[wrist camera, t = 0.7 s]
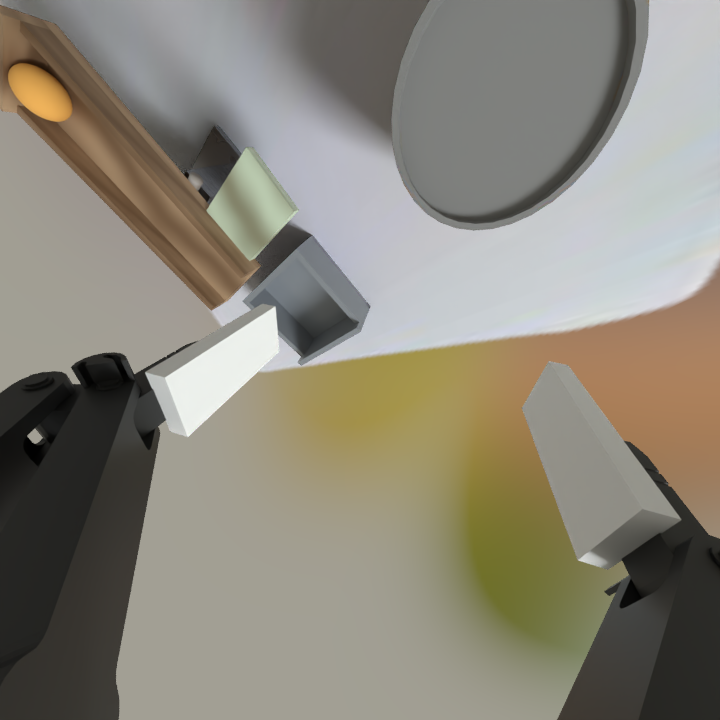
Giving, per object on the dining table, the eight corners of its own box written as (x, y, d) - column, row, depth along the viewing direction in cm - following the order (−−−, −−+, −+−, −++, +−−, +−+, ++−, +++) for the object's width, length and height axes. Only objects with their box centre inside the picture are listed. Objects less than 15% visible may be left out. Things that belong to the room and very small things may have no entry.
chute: (88, -90, 19) (-12, -158, 15) (311, 217, 27) (285, 227, 23) (59, 115, 28) (-7, 107, 24) (231, 299, 36) (203, 316, 32)
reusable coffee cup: (521, 194, 28) (573, 237, 17) (403, 194, 31) (384, 232, 20) (581, 1, 20) (750, -146, 9) (414, 22, 23) (390, -75, 12)
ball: (42, 65, 24) (-16, 49, 21) (75, 78, 23) (20, 63, 20) (59, 118, 26) (8, 109, 23) (89, 130, 26) (41, 123, 23)
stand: (218, 125, 30) (172, 125, 25) (271, 190, 34) (240, 201, 28) (179, 199, 37) (137, 211, 32) (226, 247, 40) (195, 265, 35)
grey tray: (312, 235, 36) (291, 253, 31) (370, 306, 41) (360, 331, 36) (260, 284, 43) (236, 306, 38) (315, 340, 49) (301, 365, 43)
